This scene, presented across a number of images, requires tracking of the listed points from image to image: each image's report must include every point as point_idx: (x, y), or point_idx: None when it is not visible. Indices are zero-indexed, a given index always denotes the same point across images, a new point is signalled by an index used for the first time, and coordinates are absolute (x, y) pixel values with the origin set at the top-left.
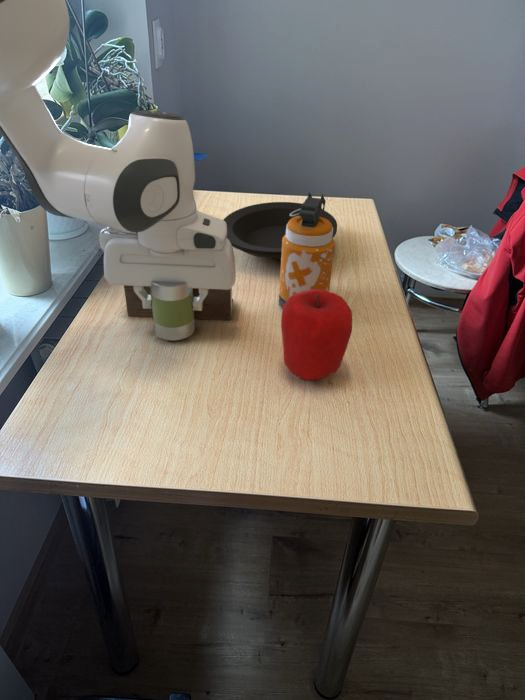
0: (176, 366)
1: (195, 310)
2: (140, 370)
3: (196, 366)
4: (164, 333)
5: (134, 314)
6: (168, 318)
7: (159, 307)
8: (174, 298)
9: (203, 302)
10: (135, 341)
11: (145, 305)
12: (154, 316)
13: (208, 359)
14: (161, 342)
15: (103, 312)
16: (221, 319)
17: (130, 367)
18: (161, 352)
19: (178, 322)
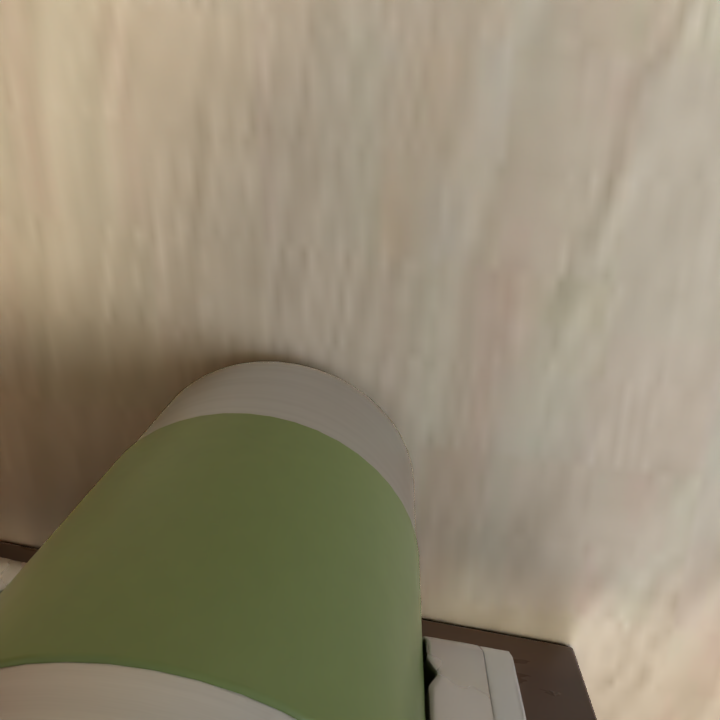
0: (249, 38)
1: (12, 560)
2: (547, 6)
3: (88, 21)
4: (337, 405)
5: (536, 651)
6: (258, 474)
7: (328, 601)
8: (29, 701)
9: None
10: (551, 401)
11: (488, 677)
12: (405, 546)
13: (12, 115)
14: (371, 368)
15: (713, 695)
16: (8, 545)
17: (626, 63)
18: (371, 249)
19: (182, 441)
